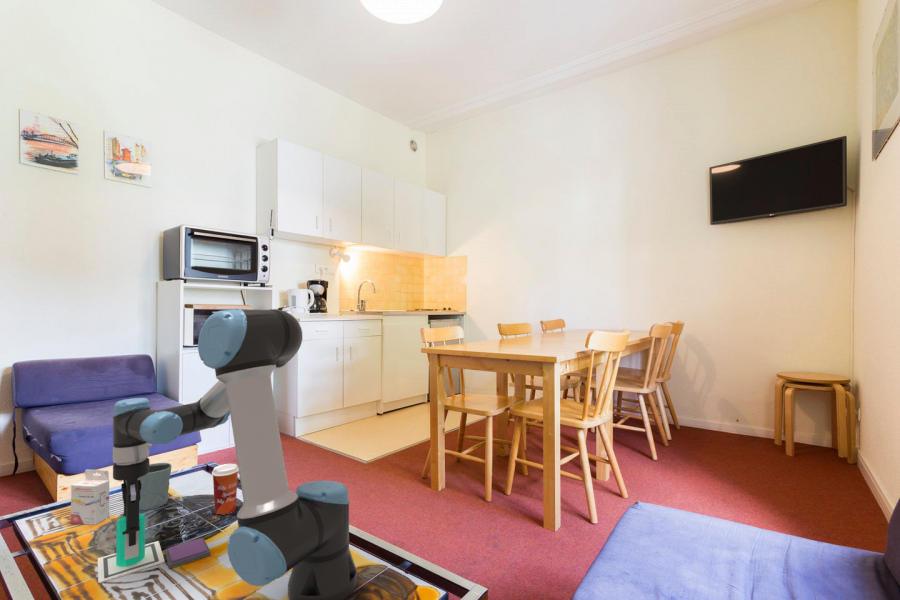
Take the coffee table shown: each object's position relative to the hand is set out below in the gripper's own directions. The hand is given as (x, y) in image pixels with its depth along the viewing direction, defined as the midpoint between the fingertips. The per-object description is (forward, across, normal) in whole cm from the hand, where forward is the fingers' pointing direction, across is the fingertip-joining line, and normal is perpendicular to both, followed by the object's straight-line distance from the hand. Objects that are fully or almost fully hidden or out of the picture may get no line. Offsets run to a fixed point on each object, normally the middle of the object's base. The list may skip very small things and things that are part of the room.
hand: (130, 552), depth 110 cm
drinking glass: (+2, +36, -8) cm, 37 cm away
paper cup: (+2, +14, -25) cm, 29 cm away
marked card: (+2, 0, 0) cm, 2 cm away
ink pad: (+2, -6, -12) cm, 13 cm away
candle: (+2, 0, 0) cm, 2 cm away
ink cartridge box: (+2, +35, +8) cm, 36 cm away
